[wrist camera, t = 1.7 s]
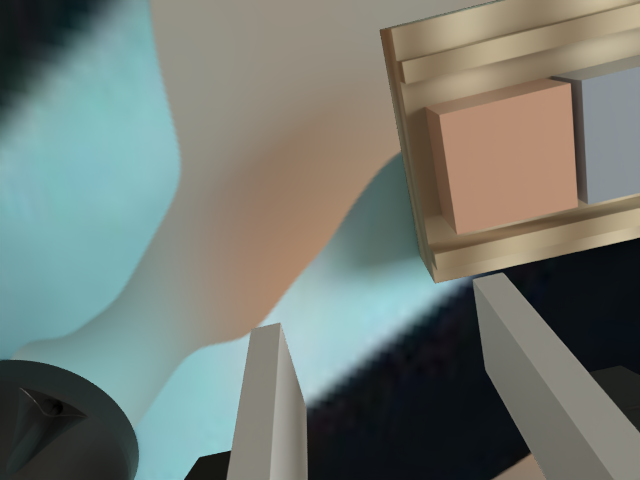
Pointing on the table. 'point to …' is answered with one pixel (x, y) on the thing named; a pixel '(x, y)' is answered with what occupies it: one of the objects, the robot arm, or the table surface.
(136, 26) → the table surface
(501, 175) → the terracotta tile
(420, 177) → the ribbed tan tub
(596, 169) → the slate tile
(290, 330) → the table surface
